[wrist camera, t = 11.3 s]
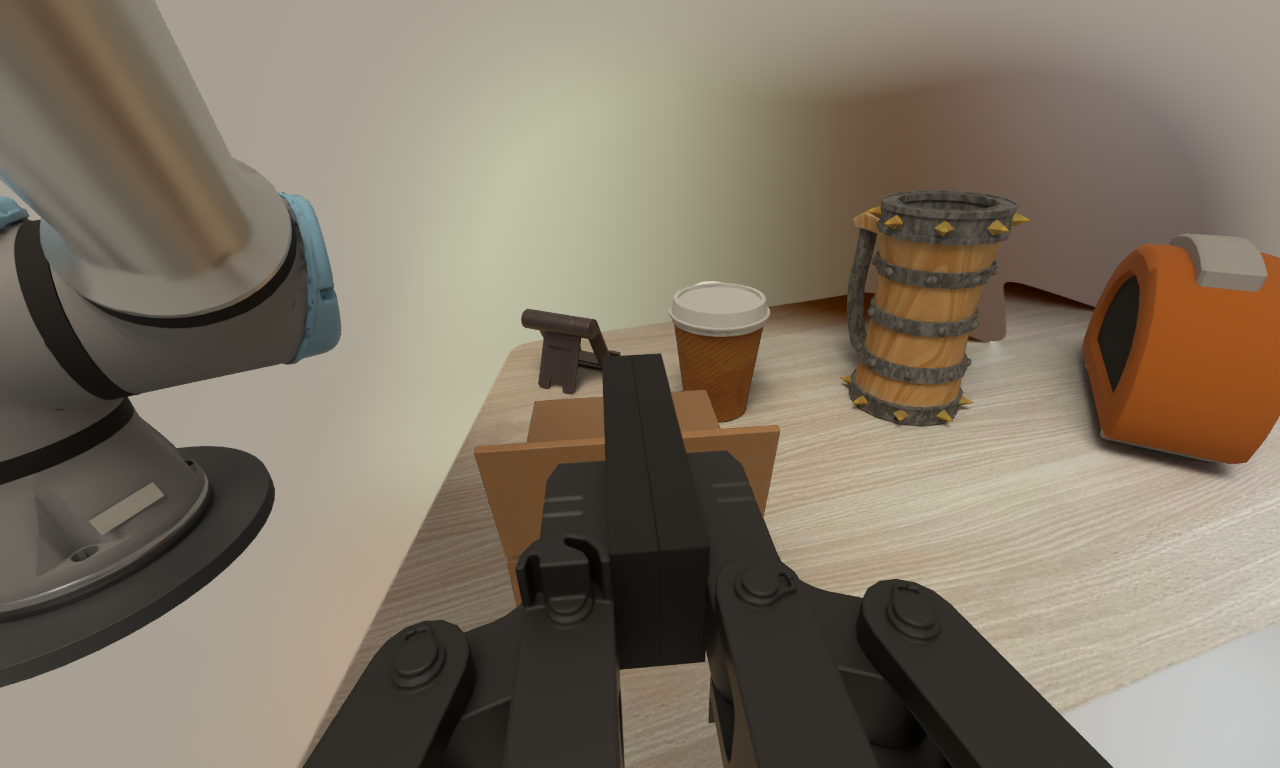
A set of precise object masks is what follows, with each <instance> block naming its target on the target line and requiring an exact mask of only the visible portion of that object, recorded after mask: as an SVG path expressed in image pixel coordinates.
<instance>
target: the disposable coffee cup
mask: <svg viewBox="0 0 1280 768" xmlns="http://www.w3.org/2000/svg"><path fill="white" fill-rule="evenodd" d="M669 314H670V317H671V318H672V321H673V323H674V325H675V334H676V340H677V348H678V355H679V362H680V370H681V377H682V385H683V391H694V390H706V391H707V394H708V397H709V399H710V402H711V405H712V407H713V410H714V413H715V415H716V418H717V421H718V422H723V421H729V420H733V419H736V418H738V417H739V416H741V415H742V414H743V413H744V412H745V409H746V404H747V399H748V394H749V390H750V385H751V381H752V377H753V372H754V367H755V362H756V357H757V353H758V348H759V344H760V339H761V334H762V330H763V326H764V325H765V323H766V320H767V319H768V318H769V315H770V309H769V308H768V306H767V305H766V298H765V296H764V294H763V293H761V292H760V291H758V290H756V289H754V288H751V287H747V286H743V285H738V284H729V283H707V284H699V285H694V286H690V287H687V288H685V289H682V290H680V291H678V292H677V293H676V294H675V296H674V300H673V304H672V305H671V306H670V308H669Z"/></svg>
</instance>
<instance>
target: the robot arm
mask: <svg viewBox="0 0 1280 768" xmlns="http://www.w3.org/2000/svg"><path fill="white" fill-rule="evenodd" d="M0 179H1V180H2V181H3V182H4V183H5V184H6V185H7V186H8V187H9V188H10V189H11V190H12V191H13V192H15V193H16V194H17V195H18V196H19V197H20V198H21V199H22V200H23V201H24V202H25V203H26V204H28V205H29V206H30V207H31V208H32V209H33V210H34V211H35V212H36V213H37V214H38V215H39V216H41V220H35V221H31V220H28V217H29V214H28V212H27V210H26V209H23V208H21V207H20V206H19V205H18V204H17V203H16V202H15V201H14V200H13V199H11V198H9V197H5V196H0V623H5V622H11V621H16V620H20V619H24V618H29V617H32V616H36V615H39V614H43V613H46V612H49V611H52V610H55V609H58V608H61V607H64V606H67V605H69V604H72V603H75V602H77V601H80V600H82V599H84V598H87V597H89V596H92V595H94V594H96V593H98V592H100V591H103V590H105V589H107V588H109V587H111V586H113V585H115V584H117V583H119V582H121V581H122V580H124V579H126V578H128V577H130V576H131V575H133V574H135V573H137V572H138V571H140V570H142V569H143V568H145V567H147V566H148V565H150V564H151V563H153V562H154V561H156V560H157V559H159V558H160V557H162V556H163V555H164V554H166V553H167V552H168V551H170V550H171V549H172V548H174V547H175V546H176V545H177V544H179V543H180V542H181V541H182V540H183V539H184V538H185V537H187V536H188V535H189V534H190V533H191V532H192V531H193V530H194V529H195V528H196V527H197V525H198V524H199V523H200V522H201V521H202V519H203V518H204V517H205V515H206V514H207V512H208V510H209V508H210V506H211V504H212V501H213V488H212V486H211V484H210V482H209V480H208V478H207V476H206V475H205V473H204V471H203V469H202V468H201V467H200V466H199V465H198V464H197V463H196V462H195V461H194V460H193V459H192V458H190V457H189V456H187V455H185V454H183V453H181V452H180V451H179V450H178V449H177V448H176V447H175V446H174V445H173V444H172V443H171V442H170V441H168V440H167V439H166V438H165V437H164V436H163V435H162V434H160V433H159V432H158V431H157V430H155V429H154V428H153V427H151V425H149V424H148V423H147V422H145V421H144V420H143V419H142V418H141V417H140V416H139V415H138V413H137V412H136V411H135V409H134V407H133V405H132V404H131V402H130V400H129V399H128V396H132V395H139V394H141V393H145V392H150V391H155V390H159V389H164V388H169V387H173V386H178V385H182V384H187V383H192V382H197V381H202V380H207V379H211V378H216V377H221V376H225V375H230V374H234V373H240V372H244V371H249V370H253V369H258V368H263V367H268V366H273V365H277V364H282V363H283V364H295V363H297V362H298V361H300V360H301V359H303V358H306V357H311V356H315V355H319V354H322V353H326V352H328V351H330V350H332V349H333V348H334V347H335V346H336V345H337V344H338V342H339V340H340V336H341V322H340V321H341V320H340V313H339V307H338V301H337V297H336V293H335V291H334V290H333V289H334V283H333V276H332V271H331V267H330V262H329V259H328V255H327V250H326V247H325V243H324V239H323V236H322V232H321V229H320V226H319V223H318V219H317V217H316V214H315V211H314V209H313V207H312V205H311V204H310V202H309V201H308V200H306V199H305V198H303V197H302V196H299V195H288V194H286V193H284V192H283V193H278V192H277V191H276V189H275V188H274V187H273V185H272V184H271V183H270V182H269V181H268V180H267V179H266V178H265V177H264V176H262V175H261V174H260V173H258V172H257V171H256V170H254V169H253V168H251V167H250V166H248V165H246V164H245V163H243V162H241V161H239V160H237V159H235V158H232V157H231V155H230V153H229V151H228V149H227V146H226V144H225V142H224V140H223V138H222V136H221V134H220V132H219V130H218V128H217V127H216V124H215V122H214V120H213V118H212V116H211V114H210V112H209V110H208V108H207V106H206V104H205V102H204V100H203V98H202V96H201V94H200V92H199V90H198V88H197V86H196V84H195V82H194V80H193V78H192V75H191V73H190V71H189V69H188V67H187V65H186V63H185V61H184V59H183V57H182V55H181V53H180V51H179V49H178V47H177V45H176V43H175V41H174V39H173V37H172V35H171V33H170V31H169V29H168V27H167V25H166V23H165V21H164V19H163V17H162V15H161V13H160V11H159V9H158V7H157V5H156V3H155V1H154V0H0ZM602 373H603V405H604V437H605V461H591V462H577V463H562V464H558V465H557V467H556V468H555V470H554V471H553V472H552V474H551V475H550V477H549V478H548V479H547V482H546V491H545V503H544V507H543V518H542V524H541V532H540V539H538V540H536V541H534V542H532V543H531V544H530V545H529V547H528V548H527V549H526V550H525V551H524V552H523V553H522V554H521V555H520V558H519V560H518V563H517V565H516V567H515V571H516V575H517V580H518V585H519V590H520V595H521V600H522V603H521V604H520V605H519V606H518V607H517V608H516V609H514V610H513V611H512V612H510V613H509V614H507V615H506V616H504V617H502V618H500V619H498V620H496V621H494V622H492V623H489V624H486V625H484V626H481V627H478V628H476V629H473V630H470V631H468V632H465V633H463V632H462V630H461V629H460V628H459V627H458V626H457V625H455V624H452V623H449V622H446V621H443V620H436V621H423V622H420V623H418V624H415V625H412V626H409V627H407V628H405V629H403V630H402V631H400V632H399V633H397V634H396V635H394V636H393V637H392V638H390V639H389V640H387V642H386V643H385V644H384V645H383V646H382V647H381V649H380V650H379V651H378V652H377V653H376V654H375V655H374V657H373V658H372V660H371V661H370V663H369V665H368V666H367V668H366V669H365V671H364V672H363V674H362V675H361V677H360V679H359V680H358V682H357V683H356V685H355V686H354V688H353V690H352V691H351V693H350V694H349V696H348V697H347V699H346V701H345V702H344V704H343V705H342V707H341V708H340V710H339V711H338V713H337V715H336V716H335V718H334V719H333V721H332V722H331V724H330V726H329V727H328V729H327V730H326V732H325V733H324V735H323V736H322V738H321V740H320V741H319V743H318V744H317V746H316V747H315V749H314V751H313V752H312V754H311V755H310V757H309V758H308V760H307V761H306V763H305V765H304V766H303V768H625V763H624V742H623V721H622V702H621V690H620V671H619V670H621V669H632V668H643V667H654V666H665V665H676V664H687V663H698V662H705V648H706V652H707V657H708V662H709V667H710V672H711V679H710V697H709V723H714V722H715V724H716V729H717V734H718V740H719V745H720V750H721V756H722V761H723V766H724V768H1113V767H1112V766H1111V765H1110V764H1109V763H1108V762H1107V761H1106V760H1105V759H1104V758H1103V757H1102V756H1101V755H1100V754H1099V753H1098V752H1097V751H1096V750H1095V749H1094V748H1093V747H1092V746H1091V745H1090V744H1089V743H1088V742H1087V741H1086V740H1085V739H1084V738H1083V737H1082V736H1081V735H1080V734H1079V733H1078V732H1077V731H1076V730H1075V729H1074V728H1073V727H1072V726H1071V725H1070V724H1069V723H1068V722H1067V721H1066V720H1065V719H1064V718H1063V717H1062V716H1061V715H1060V714H1059V713H1058V712H1057V711H1056V710H1055V709H1054V708H1053V707H1052V706H1051V705H1050V704H1049V703H1048V702H1047V701H1046V700H1045V699H1044V698H1043V697H1042V696H1041V695H1040V693H1039V692H1038V691H1037V690H1036V689H1035V688H1034V687H1033V686H1032V685H1031V684H1030V683H1029V682H1028V681H1027V680H1026V679H1025V678H1024V677H1023V676H1022V675H1021V674H1020V673H1019V672H1018V671H1017V670H1016V669H1015V668H1014V667H1013V666H1012V665H1011V664H1010V663H1009V662H1008V661H1007V660H1006V659H1005V658H1004V657H1003V656H1002V655H1001V654H1000V653H999V652H998V651H997V650H996V649H995V648H994V647H993V646H992V645H991V644H990V643H989V642H988V641H987V640H986V639H985V638H984V637H983V636H982V635H981V634H980V633H979V632H978V631H977V630H976V629H975V628H974V627H973V626H972V625H971V624H970V623H969V622H968V621H967V620H966V619H965V618H964V617H963V616H962V615H961V614H960V613H959V612H958V611H957V610H956V609H955V608H954V607H953V606H952V605H951V604H950V603H949V602H947V601H946V600H945V599H943V598H942V597H941V596H940V595H938V594H937V593H936V592H934V591H933V590H931V589H928V588H926V587H924V586H922V585H920V584H917V583H915V582H910V581H904V580H899V579H892V580H884V581H879V582H877V583H876V584H874V585H872V586H871V587H869V588H868V589H867V591H866V593H865V595H864V597H863V598H860V597H855V596H850V595H845V594H840V593H834V592H829V591H826V590H822V589H819V588H815V587H813V586H811V585H809V584H807V583H805V582H803V581H801V580H800V579H799V578H798V576H797V575H796V573H795V572H794V571H793V570H792V569H790V568H789V567H788V566H786V565H785V564H784V563H782V562H781V560H780V558H779V556H778V554H777V552H776V549H775V547H774V544H773V541H772V539H771V536H770V534H769V531H768V529H767V526H766V524H765V521H764V519H763V516H762V514H761V511H760V509H759V506H758V504H757V501H756V500H755V496H754V493H753V491H752V488H751V486H749V481H748V478H747V476H746V473H745V471H744V468H743V466H742V464H741V463H740V462H739V461H738V460H737V459H735V458H734V457H733V456H732V455H731V454H730V453H729V452H728V451H727V450H723V451H709V452H695V453H686V450H685V446H684V442H683V438H682V434H681V430H680V426H679V422H678V418H677V415H676V411H675V407H674V403H673V399H672V395H671V391H670V387H669V383H668V379H667V375H666V371H665V367H664V363H663V360H662V356H661V354H644V355H628V356H612V357H602Z"/></svg>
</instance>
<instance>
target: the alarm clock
mask: <svg viewBox="0 0 1280 768" xmlns="http://www.w3.org/2000/svg"><path fill="white" fill-rule="evenodd" d="M1082 349H1083V353H1084V357H1085V361H1086V365H1085V369H1086V370H1087V371H1088V374H1089V379H1090V383H1091V387H1092V391H1093V396H1094V400H1095V404H1096V409H1097V413H1098V417H1099V421H1100V426H1101V432H1100V435H1101V437H1102V438H1103V439H1105V440H1110V441H1114V442H1119V443H1124V444H1128V445H1133V446H1138V447H1142V448H1147V449H1151V450H1156V451H1161V452H1165V453H1170V454H1175V455H1179V456H1184V457H1188V458H1193V459H1198V460H1202V461H1207V462H1212V463H1215V462H1222V463H1227V464H1238V463H1246V462H1247V461H1248V460H1249V459H1250V458H1251V457H1252V455H1253V454H1254V453H1255V452H1256V450H1257V449H1258V448H1259V447H1260V445H1261V444H1262V443H1263V442H1264V440H1265V439H1266V438H1267V436H1268V435H1269V433H1270V431H1271V430H1272V428H1273V426H1274V425H1275V423H1276V421H1277V420H1278V418H1279V416H1280V258H1279V257H1275V256H1272V255H1268V254H1265V253H1261V252H1259V250H1258V249H1257V248H1256V247H1255V246H1254V245H1253V244H1252V243H1251V242H1250V241H1249V240H1247V239H1244V238H1242V237H1229V236H1213V235H1199V234H1183V235H1180V236H1178V237H1175V238H1173V239H1172V241H1171V243H1170V245H1160V244H1144V245H1141V246H1140V247H1138V248H1137V249H1136V250H1134V251H1133V252H1132V253H1131V254H1129V255H1128V256H1127V257H1126V258H1125V259H1124V260H1123V261H1122V262H1121V264H1120V265H1119V266H1118V267H1117V269H1116V270H1115V272H1114V273H1113V275H1112V277H1111V278H1110V280H1109V281H1108V283H1107V285H1106V287H1105V289H1104V291H1103V293H1102V295H1101V297H1100V299H1099V301H1098V303H1097V305H1096V308H1095V310H1094V313H1093V315H1092V318H1091V320H1090V323H1089V326H1088V329H1087V332H1086V334H1085V337H1084V342H1083V348H1082Z"/></svg>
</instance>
